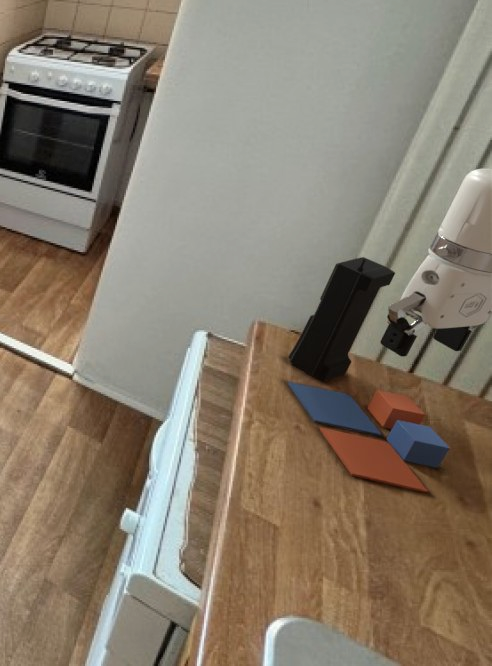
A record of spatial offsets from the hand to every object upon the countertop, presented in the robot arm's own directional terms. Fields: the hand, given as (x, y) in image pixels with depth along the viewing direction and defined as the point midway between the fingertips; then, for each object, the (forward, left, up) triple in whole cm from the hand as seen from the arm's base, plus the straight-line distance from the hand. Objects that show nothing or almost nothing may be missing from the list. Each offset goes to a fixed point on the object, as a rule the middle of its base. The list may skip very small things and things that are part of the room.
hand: (419, 347), depth 92 cm
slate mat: (+4, -3, -17) cm, 18 cm away
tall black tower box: (+1, -15, -17) cm, 23 cm away
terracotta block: (-4, -3, -17) cm, 18 cm away
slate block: (-3, +4, -17) cm, 18 cm away
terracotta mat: (+4, +7, -17) cm, 19 cm away
